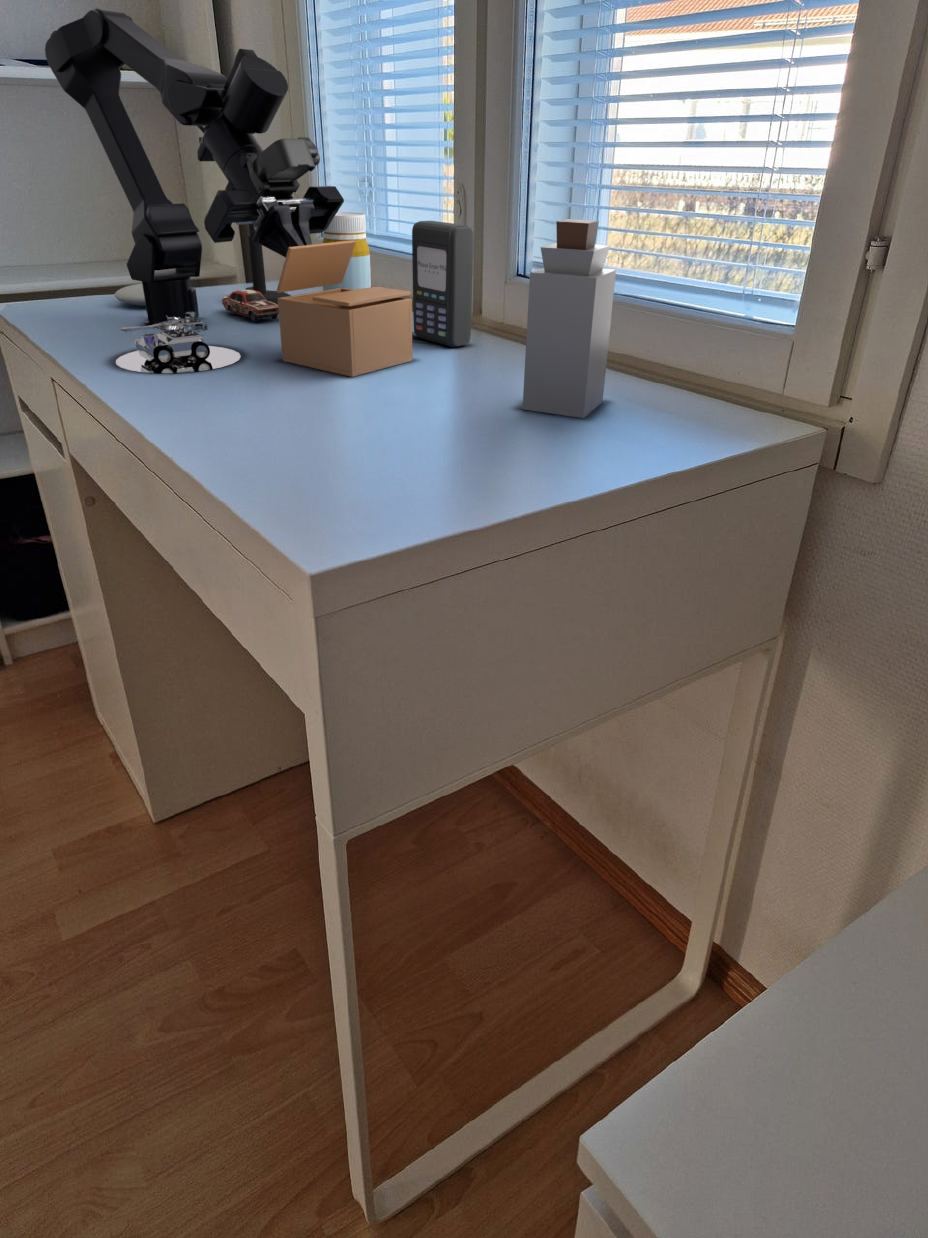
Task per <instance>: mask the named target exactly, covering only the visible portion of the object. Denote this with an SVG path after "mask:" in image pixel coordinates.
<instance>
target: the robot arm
mask: <svg viewBox="0 0 928 1238" xmlns="http://www.w3.org/2000/svg"><path fill="white" fill-rule="evenodd" d="M44 53H45V55H44V56H45V58H46V62H47V64H48V67H49V68H50V70H51V72H52V74H53V75H54V77H55V79H56V80H57V82H58V83H59V86H60V87H61V88H62V90H63V91H64V92H65V94H67V95H68V96H69V97H70V98H71V99H73V101H75V102H76V103H78V104H79V106H81V107H82V108H83V109H84V110H85V112H86V114H87V116H88V118H89V120H90V122H91V125H92V126H93V129H94V131H95V133H96V135H97V137H98V139H99V142H100V144H101V145H102V148H103V150H104V152H105V154H106V156H107V158H108V161H109V162H110V165H111V167H112V169H113V171H114V173H115V176H116V177H117V179H118V182H119V183H120V186H121V188H122V190H123V192H124V195H125V196H126V199H127V201H128V203H129V205H130V207H131V209H132V212H133V214H132V225H131V236H132V238H133V241H134V245H133V248H132V250H131V253H130V255H129V258H128V260H127V262H126V267H127V268H126V269H127V270H128V274H129V276H130V279H131V280H132V281H138V282H141V284H142V285H143V291H144V298H145V304H146V306H145V311H146V315H147V320H146V321H145V322H144V326H148V325H154V324H159V322H163V321H167V317H166V316H168V317H175V318H178V317H180V319H182V318H186V317H185V316H189V314H188V313H186V312H193V311H194V312H195V314H194V317H196V318H198V319H199V318H200V317H199V316H200V311H199V305H198V298H197V297H198V296H197V291H196V288H195V287H192V283H191V282H192V281H191V278H199V277H200V275H201V264H202V254H203V245H202V241H201V238H200V236H199V234H198V233H199V232H200V229H199V228H198V227H197V225H196V224H195V222H194V220H193V217H192V215H191V211H190V209H189V207H187V205H186V203H184V202H183V203H182V202H181V203H173V202H172V201H171V200H170V199H169V198H168V197H167V196H166V194H165V191H164V189H163V187H162V184H161V183H160V180H159V179H158V176H157V174H156V172H155V170H154V167H153V165H152V163H151V161H150V159H149V157H148V155H147V152H146V150H145V148H144V146H143V144H142V142H141V140H140V137H139V135H138V133H137V131H136V129H135V127H134V125H133V122H132V120H131V118H130V116H129V114H128V112H127V109H126V106H125V105H124V103H123V101H122V99H121V95H120V90H121V81H122V80H121V79H122V71H121V68H122V67H124V65H126V66H127V67H128V68H130V69H131V70H132V71H133V72H135V73H136V74H137V75H139V77H141V78H142V79H144V80H145V81H146V82H147V83H149V84H150V85H151V86H153V87H154V88H155V89H156V90H157V91H158V92H159V94H160V98H161V104H162V105H163V106H164V108H165V109H166V110H167V111H168V112H169V114H171V116H172V117H173V118H174V119H175V120H176V121H177V122H178V124H180V125H183V126H188V127H189V126H191V127H193V126H194V127H195V126H196V127H197V126H207V128H206V130H205V133H203V135H202V136H199V137H198V148H197V150H196V153H197V160H198V161H199V162H215V163H216V165H217V166H218V168H219V169H220V171H221V173H222V174H223V175H224V177H225V178H226V180H227V184H226V186H225V188H224V189H218V190H217V192H216V194H215V196H214V197H213V200H212V202H211V204H210V207H209V208H208V210H207V213H206V214H205V217H204V220H203V222H204V223H203V224H204V230H205V231H206V233H207V234H208V236H210V238H211V240H212V241H213V243H214V244H216V243H226V242H229V243H230V242H233V240H234V238H235V235H236V231H235V230H234V228H233V227H232V225H233V224H236V225H237V226H240V225H241V226H242V225H249V224H253V225H254V229H255V231H256V233H255V235H254V237H253V239H252V241H253V242H254V243H255V244H261V245H262V247H265V248H267V249H269V250H270V251H272V252H274V253H276V254H278V255H280V256H282V257H283V258H285V259H286V255H287V252H288V248H289V247H295V246H304V245H313V242H312V237H311V235H313V234H323V232H324V231H325V230H326V229H327V228H328V226H329V224H330V223H331V221H332V220H333V218H334V217H335V215H336V213H337V212H339V210H340V209H341V207H342V206H343V204H344V202H345V199H344V197H343V196H342V194H341V193H340V191H339V189H338V187H337V186H335V185H317V186H315V185H313V186H309V187H308V188H307V190H306V191H305V194H304V195H303V197H299V198H294V197H293V194H294V193H297V191H298V190H299V188H300V187H301V184H300V182H299V181H298V179H300V178H301V177H303V176H304V175H306V174H307V173H308V172H313V171H314V170H315V169H316V167H317V166H318V165H319V164H320V162H321V156H320V153H319V148H318V147H317V145H316V144H315V143H314V142H313V141H312V139H311V138H310V137H309V136H308V137H307V136H306V137H305V136H303V137H302V136H301V137H298V138H280V139H277V140H275V141H274V142H272V143H271V144H270V145H268V146H267V147H266V148H264V149H263V148H262V146H261V144H260V143H259V142H258V139H256V137H255V134H259V135H261V134H265V133H266V132H268V130H269V129H270V127H271V125H272V124H273V123H272V122H273V120H274V119H275V117H276V115H277V113H278V111H279V109H280V107H281V105H282V104H283V101H284V99H285V97H286V95H287V93H288V91H289V84H288V81H287V79H286V77H285V75H284V74H283V72H281V71H280V70H278V69H277V68H276V67H275V66H274V65H272V64H271V63H270V62H268V61H267V60H265V59H263V58H261V57H259V56H258V55H257V53H256V52H255V50H254V49H247V48H239V49H237V52H236V55H235V57H234V62H233V65H232V68H231V70H230V72H229V74H228V76H227V77H226V75H224V74H222V73H220V72H218V71H215V70H214V69H211V68H209V67H207V66H202V65H199V64H196V63H193V62H190V61H187V60H185V59H183V58H181V57H180V56H178V55H177V54H176V53H174V51H172V50H171V49H169V48H168V47H166V46H165V44H163V43H162V42H160V41H159V40H157V39H156V38H155V37H154V36H152V35H151V34H150V33H148V32H147V31H146V30H145V29H143V28H142V27H141V26H139V25H138V23H136V22H134V20H133V19H132V17H131V16H130V15H128V14H126V13H125V12H123V11H121V10H112V9H105V8H99V7H96V8H93V9H90V10H89V11H87V13H86V14H84V15H83V17H81V18H79V19H76V20H74V21H71V22H69V23H66V24H64V25H62V26H60V27H59V28H57V30H53V31H52V32H51V34H50V36H49V38H48V39H47V40H46V43H45V46H44Z"/></svg>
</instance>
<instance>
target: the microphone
mask: <svg viewBox="0 0 928 1238" xmlns="http://www.w3.org/2000/svg"><path fill="white" fill-rule="evenodd" d="M196 127H197V128H198V129H199V130H200V131H201V132H202V133H203V134H204V133H205V130H206V128H207V126H196ZM248 227H249V235H248V236H247V240H248V248H249V249H248V250H249V260H250V270H251V280H252V286H248V287H246V288H245V289H244V290H254V291H259V292H260V293H261V294H262V295H263V296H264V298H266V300H267V301H269V302H272V303H275V304H277V305H278V298H281V297H287V296H292V295H291V294H290V293H288V292H281V293H278V292H277V290H269V289H267V282H266V274H265V273H266V272H265V263H264V252H263V251H264V250H263V245H261V244H255V243H254V242H253V241H252V239H253V237H254V235H255V233H256V231H255V229H254V225H253V224H248Z"/></svg>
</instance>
